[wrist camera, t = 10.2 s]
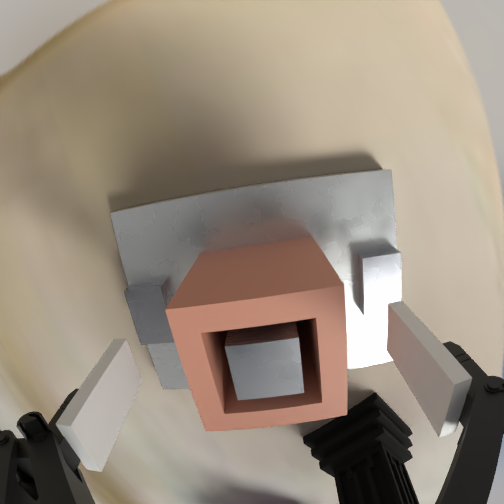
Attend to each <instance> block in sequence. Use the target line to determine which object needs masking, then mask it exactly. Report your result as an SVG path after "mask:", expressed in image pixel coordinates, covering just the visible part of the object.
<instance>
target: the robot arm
mask: <svg viewBox="0 0 504 504" xmlns="http://www.w3.org/2000/svg"><path fill="white" fill-rule="evenodd" d="M386 351H387V352H388V354H389V355H390V357H391V358H392V360H393V362H394V363H395V365H396V366H397V368H398V370H399V371H400V373H401V374H402V376H403V378H404V379H405V381H406V383H407V384H408V386H409V387H410V389H411V391H412V392H413V394H414V396H415V397H416V399H417V401H418V402H419V404H420V406H421V407H422V409H423V411H424V413H425V414H426V416H427V418H428V419H429V421H430V423H431V425H432V426H433V428H434V430H435V431H436V433H437V435H438V437H439V438H440V437H442V436H445V435H448V434H450V433H453V432H455V431H456V429H457V426H458V423H459V421H460V423H461V424H462V426H463V427H464V428H463V431H462V433H461V436H460V438H459V441H458V443H457V445H458V446H457V449H456V452H455V455H454V458H453V461H452V464H451V466H450V469H449V472H448V474H447V477H446V479H445V482H444V484H443V487H442V489H441V492H440V494H439V496H438V499H437V501H436V503H435V504H487V500H488V497H489V493H490V490H491V486H492V483H493V479H494V475H495V471H496V466H497V462H498V457H499V453H500V449H501V443H502V438H503V434H504V379H502V378H500V377H497V376H487V374H486V373H485V372H484V371H483V370H482V369H481V368H480V367H479V366H478V365H477V364H476V363H475V362H474V360H473V359H471V357H470V356H469V355H468V354H466V352H465V351H464V350H463V349H462V348H461V347H460V346H459V345H457V344H455V343H453V342H451V341H450V342H447V343H443V344H442V343H441V342H440V341H439V340H438V339H437V337H436V336H435V335H434V334H433V333H432V332H431V331H430V330H429V329H428V328H427V327H426V326H425V325H424V323H423V322H422V321H421V320H420V319H419V318H418V317H417V316H416V315H415V314H414V313H413V312H412V311H411V310H410V309H409V308H408V307H407V306H406V305H405V303H404V302H403V301H397V302H393V303H388V321H387V346H386ZM142 382H143V381H142V378H141V376H140V373H139V371H138V368H137V366H136V363H135V361H134V358H133V355H132V353H131V350H130V347H129V344H128V342H127V339H116V340H113V342H112V343H111V344H110V346H109V347H108V349H107V350H106V351H105V353H104V354H103V355H102V357H101V358H100V360H99V361H98V362H97V364H96V365H95V367H94V368H93V370H92V371H91V372H90V374H89V375H88V377H87V378H86V380H85V381H84V382H83V384H82V385H81V387H80V388H79V389H75V390H74V391H73V392H71V393H70V394H69V395H68V396H67V398H66V399H65V401H64V403H62V405H61V406H60V409H58V411H57V412H56V414H55V415H54V416H53V418H52V419H51V421H50V422H49V424H47V422H46V421H45V419H44V417H43V416H42V414H41V413H39V412H29V413H27V414H25V415H23V416H22V417H21V418H20V419H19V421H18V422H17V428H18V429H19V431H20V432H21V433H22V435H23V436H24V438H19V439H17V438H16V437H15V435H14V434H13V432H12V431H10V430H4V431H1V432H0V504H95V502H94V500H93V498H92V496H91V493H90V491H89V489H88V487H87V484H86V482H85V480H84V477H83V475H82V472H81V471H80V469H79V468H78V465H79V463H80V461H81V462H82V463H83V465H84V466H85V467H86V469H87V470H93V471H99V472H102V470H103V468H104V466H105V463H106V461H107V459H108V456H109V454H110V452H111V450H112V447H113V445H114V443H115V441H116V438H117V436H118V434H119V432H120V429H121V427H122V425H123V423H124V420H125V418H126V416H127V414H128V412H129V410H130V407H131V405H132V403H133V401H134V399H135V397H136V394H137V392H138V390H139V388H140V386H141V384H142Z"/></svg>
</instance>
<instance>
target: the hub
mask: <svg viewBox="0 0 504 504" xmlns="http://www.w3.org/2000/svg"><path fill="white" fill-rule="evenodd" d="M165 311H166V315H167V318H168V321H169V325H170V328H171V332H172V335H173V338H174V341H175V345H176V348H177V351H178V354H179V357H180V360H181V363H182V366H183V369H184V372H185V375H186V378H187V381H188V384H189V387H190V390H191V393H192V395H193V398H194V401H195V404H196V406H197V409H198V412H199V415H200V417H201V420H202V422H203V425H204V428H205V430H206V431H223V430H240V429H252V428H263V427H273V426H281V425H289V424H297V423H304V422H310V421H316V420H322V419H328V418H334V417H339V416H344V415H347V395H348V374H347V329H346V306H345V289H344V284H343V282H342V280H341V279H340V277H339V276H338V274H337V273H336V271H335V270H334V268H333V266H332V265H331V263H330V262H329V260H328V259H327V257H326V256H325V254H324V253H323V251H322V250H321V248H320V247H319V245H318V244H317V242H316V241H315V239H314V238H313V236H311V237H304V238H298V239H291V240H284V241H278V242H271V243H264V244H258V245H251V246H245V247H238V248H231V249H225V250H218V251H212V252H205V253H200V254H199V256H198V257H197V259H196V260H195V262H194V264H193V265H192V267H191V268H190V270H189V272H188V273H187V275H186V276H185V278H184V280H183V281H182V283H181V284H180V286H179V288H178V289H177V291H176V293H175V294H174V296H173V297H172V299H171V301H170V302H169V304H168V306H167V307H166V309H165ZM299 320H303V323H300V324H296V327H297V332H298V337H299V345H300V355H301V364H302V374H303V385H304V393H299V394H292V395H284V396H276V397H267V398H258V399H248V400H238V399H237V395H236V391H235V387H234V383H233V379H232V375H231V371H230V367H229V363H228V359H227V354H226V350H225V343H226V337H227V332H228V330H233V329H241V328H249V327H257V326H264V325H271V324H278V323H285V322H292V321H299Z"/></svg>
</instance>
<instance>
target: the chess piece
mask: <svg viewBox="0 0 504 504" xmlns="http://www.w3.org/2000/svg"><path fill="white" fill-rule="evenodd" d="M410 435H412V431H411V429H410V428H409V427H408V426H407V425H406V424H405V423H404V422H403V421H402V420H401V419H400V418H399V417H398V415H397V414H396V413H395V412H394V411H393V410H392V409H391V408H390V407H389V406H388V405H387V404H386V403H385V402H384V401H383V400H382V399H381V398H380V397H379V396H378V395H377V394H376V392H375V393H374V394H373V395H371V396H370V397H368V398H367V399H365V400H364V401H362V402H361V403H359V404H358V405H356V406H355V407H353V408H352V409H350V410H348V411H347V415H344V416H339V417H337V418H336V419H334V420H332V421H331V422H329V423H327V424H326V425H324V426H322V427H321V428H319V429H317V430H316V431H314V432H312V433H310V434H308V435H307V436H305V437H303V440H304V444H305V445H307V446H308V447H310V448H311V454H312V456H313V457H314V458H316V459H317V460H319V461H320V462H319V465H320V469H321V470H323V471H325V472H326V473H328V474H330V475H331V476H333V477H335V482H336V487H337V493H338V498H339V504H419V502H418V499H417V496H416V494H415V491H414V488H413V486H412V483H411V480H410V478H409V475H408V473H407V470H406V467H405V465H404V463H405V462H407V461H408V460H410V459H411V458H413V457H412V455H411V452H410V451H409V450H408V448H409V447H411V446H413V445H412V443H411V440H410V439H409V438H408V437H409V436H410Z"/></svg>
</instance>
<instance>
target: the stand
mask: <svg viewBox="0 0 504 504" xmlns="http://www.w3.org/2000/svg"><path fill="white" fill-rule="evenodd" d="M110 214H111V219H112V224H113V228H114V232H115V237H116V241H117V245H118V249H119V253H120V257H121V261H122V265H123V268H124V272H125V276H126V279H127V283H128V288H127V289H126V290H125V291H124V293H125V296H126V300H127V303H128V306H129V309H130V313H131V316H132V319H133V322H134V325H135V328H136V331H137V334H138V337H139V340H140V343H141V345H144V344H147V347H148V350H149V353H150V355H151V358H152V361H153V364H154V367H155V369H156V372H157V375H158V377H159V380H160V382H161V385H162V388H163V389H190V387H189V384H188V381H187V378H186V375H185V372H184V369H183V366H182V363H181V360H180V357H179V354H178V351H177V348H176V345H175V341H174V338H173V335H172V332H171V328H170V325H169V321H168V318H167V315H166V311H165V309H166V307H167V306H168V304H169V302H170V301H171V299H172V297H173V296H174V294H175V293H176V291H177V289H178V288H179V286H180V284H181V283H182V281H183V280H184V278H185V276H186V275H187V273H188V272H189V270H190V268H191V267H192V265H193V264H194V262H195V260H196V259H197V257H198V256H199V254H200V253H205V252H212V251H218V250H225V249H231V248H238V247H245V246H251V245H258V244H264V243H271V242H278V241H284V240H291V239H298V238H304V237H311V236H313V238H314V239H315V241H316V242H317V244H318V245H319V247H320V248H321V250H322V251H323V253H324V254H325V256H326V257H327V259H328V260H329V262H330V263H331V265H332V266H333V268H334V270H335V271H336V273H337V274H338V276H339V277H340V279H341V280H342V282H343V284H344V289H345V306H346V329H347V370H350V369H355V368H360V367H365V366H370V365H374V364H379V363H383V362H388V361H392V358H391V357H390V355H389V354H388V352H387V351H386V346H387V321H388V303H393V302H397V301H401V252H400V251H398V250H397V243H396V221H395V205H394V192H393V181H392V171H391V170H389V169H376V170H366V171H356V172H346V173H337V174H328V175H320V176H312V177H304V178H296V179H289V180H282V181H275V182H268V183H261V184H254V185H248V186H242V187H235V188H229V189H223V190H217V191H211V192H206V193H200V194H195V195H189V196H184V197H178V198H173V199H168V200H163V201H158V202H153V203H148V204H143V205H138V206H134V207H129V208H124V209H120V210H117V211H115V212H112V213H110ZM300 323H303V320H299V321H292V322H285V323H278V324H271V325H264V326H257V327H249V328H241V329H233V330H228V332H227V337H226V343H225V350H226V354H227V359H228V363H229V367H230V371H231V375H232V379H233V383H234V387H235V391H236V395H237V399H238V400H248V399H258V398H267V397H276V396H284V395H292V394H299V393H304V385H303V374H302V364H301V355H300V345H299V337H298V332H297V327H296V324H300Z"/></svg>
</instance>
